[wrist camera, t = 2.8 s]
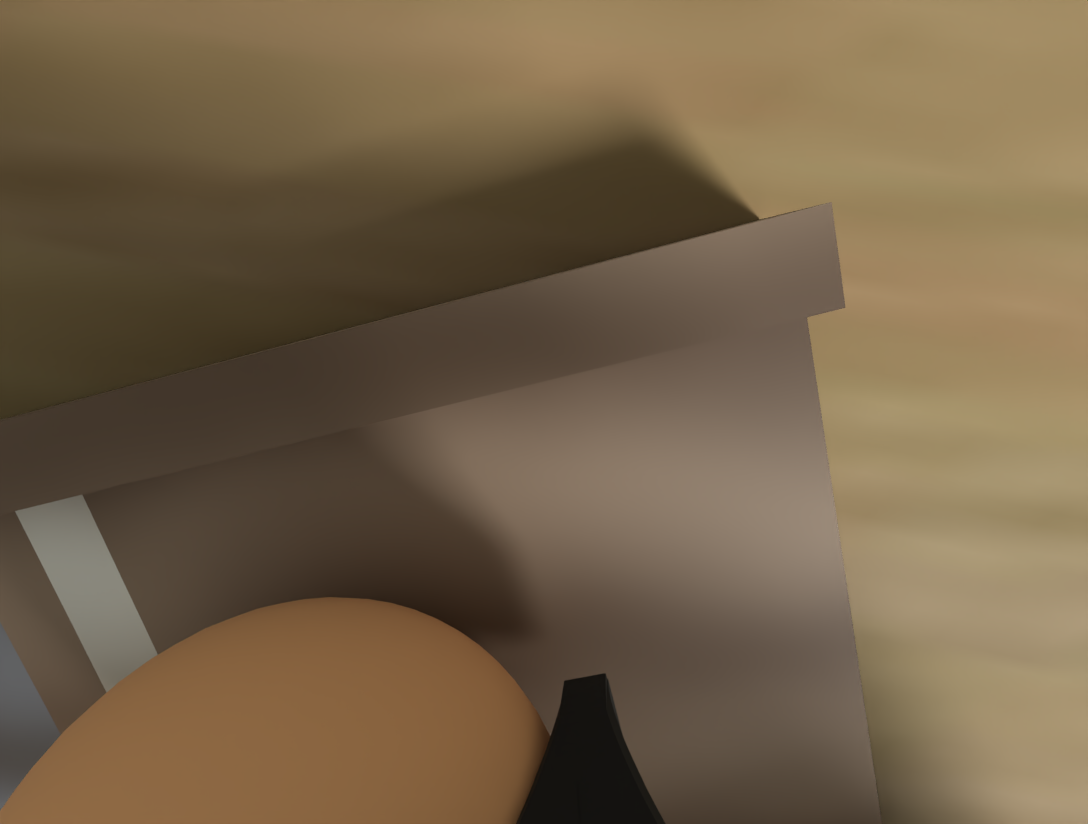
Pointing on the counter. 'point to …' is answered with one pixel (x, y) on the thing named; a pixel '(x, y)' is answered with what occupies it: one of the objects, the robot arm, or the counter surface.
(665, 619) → the tray
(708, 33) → the counter surface
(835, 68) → the counter surface
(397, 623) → the ball
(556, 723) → the robot arm
